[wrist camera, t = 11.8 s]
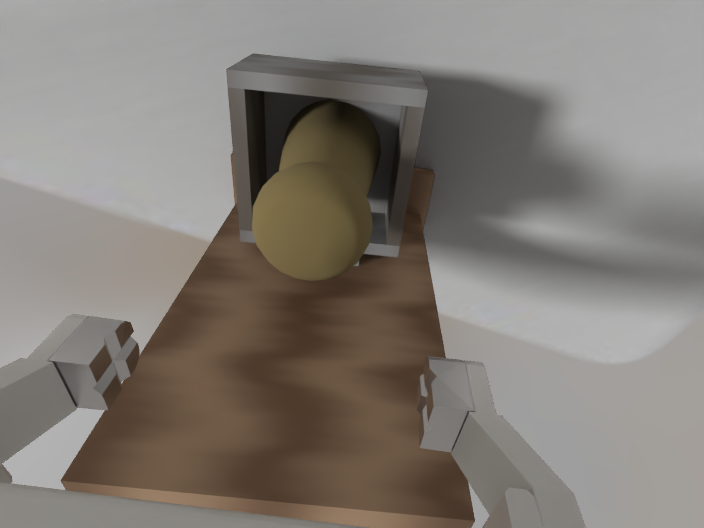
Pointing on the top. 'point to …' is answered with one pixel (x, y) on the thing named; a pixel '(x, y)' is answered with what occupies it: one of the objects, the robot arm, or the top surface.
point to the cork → (319, 193)
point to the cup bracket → (294, 343)
